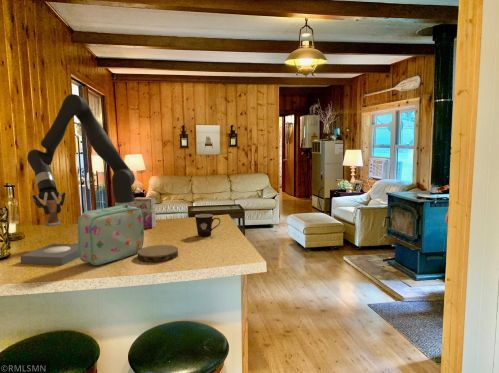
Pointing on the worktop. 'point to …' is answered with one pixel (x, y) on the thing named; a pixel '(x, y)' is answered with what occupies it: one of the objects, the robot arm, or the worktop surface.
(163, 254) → the wood slice
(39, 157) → the robot arm
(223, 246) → the worktop surface
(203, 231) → the coffee mug
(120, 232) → the lunch box
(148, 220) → the candy bar box
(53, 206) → the handle
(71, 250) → the plate
